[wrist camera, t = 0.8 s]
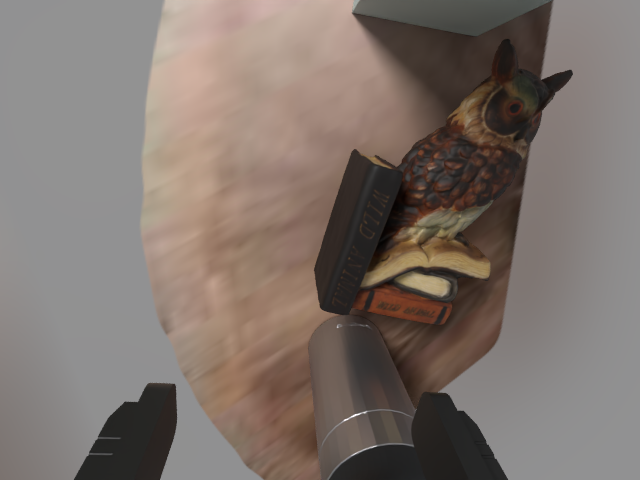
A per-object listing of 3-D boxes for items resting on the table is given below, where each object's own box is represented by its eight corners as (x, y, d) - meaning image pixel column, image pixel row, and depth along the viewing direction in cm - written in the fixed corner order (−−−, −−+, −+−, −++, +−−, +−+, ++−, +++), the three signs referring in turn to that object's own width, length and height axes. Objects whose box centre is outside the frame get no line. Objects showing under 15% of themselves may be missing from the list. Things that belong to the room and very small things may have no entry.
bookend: (314, 320, 29) (427, -11, 20) (312, 262, 39) (387, 23, 30) (464, 351, 32) (631, 66, 22) (426, 289, 41) (530, 74, 32)
